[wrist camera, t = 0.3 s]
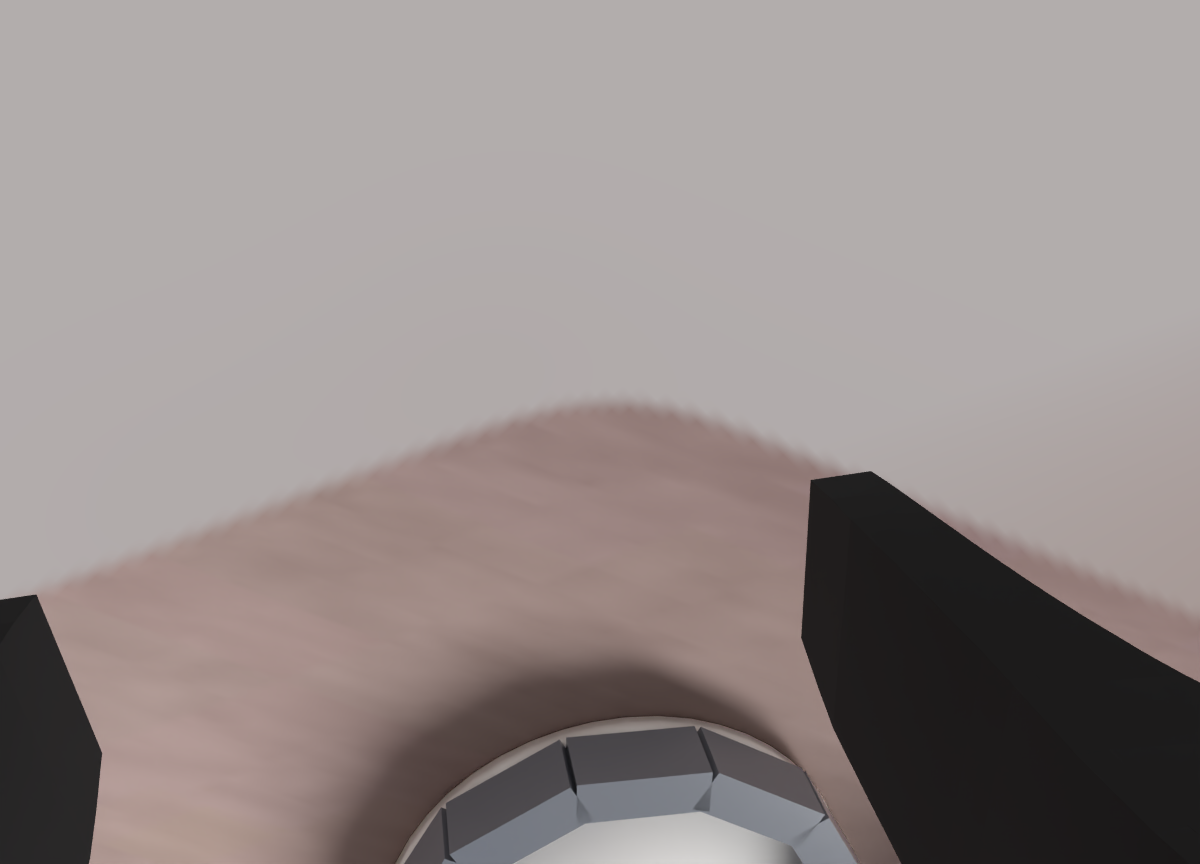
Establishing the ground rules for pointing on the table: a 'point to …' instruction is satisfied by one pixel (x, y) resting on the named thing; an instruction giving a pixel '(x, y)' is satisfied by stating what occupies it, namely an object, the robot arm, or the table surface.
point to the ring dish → (634, 802)
